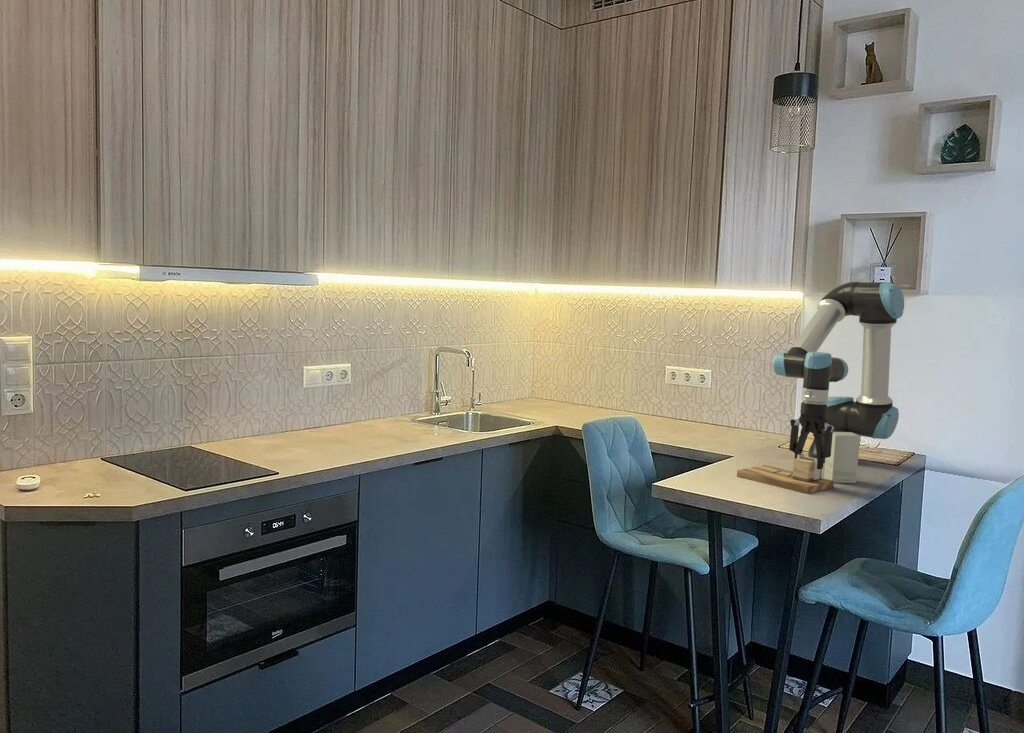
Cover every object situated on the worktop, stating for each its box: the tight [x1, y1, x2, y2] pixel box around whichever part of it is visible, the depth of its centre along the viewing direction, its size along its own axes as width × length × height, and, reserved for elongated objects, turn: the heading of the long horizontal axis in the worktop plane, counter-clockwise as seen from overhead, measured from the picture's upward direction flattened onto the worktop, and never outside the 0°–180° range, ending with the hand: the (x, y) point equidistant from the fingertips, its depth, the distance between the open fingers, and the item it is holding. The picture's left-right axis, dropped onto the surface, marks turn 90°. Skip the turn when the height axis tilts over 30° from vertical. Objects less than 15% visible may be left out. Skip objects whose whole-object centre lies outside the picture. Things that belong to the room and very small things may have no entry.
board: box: [736, 464, 835, 495], centre depth 247 cm, size 16×24×2 cm, turn 41°
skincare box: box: [823, 432, 862, 484], centre depth 251 cm, size 8×7×16 cm
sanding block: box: [792, 456, 823, 482], centre depth 243 cm, size 8×5×6 cm, turn 130°
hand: (807, 476), depth 243 cm, fingers closed on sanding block, 5 cm apart
